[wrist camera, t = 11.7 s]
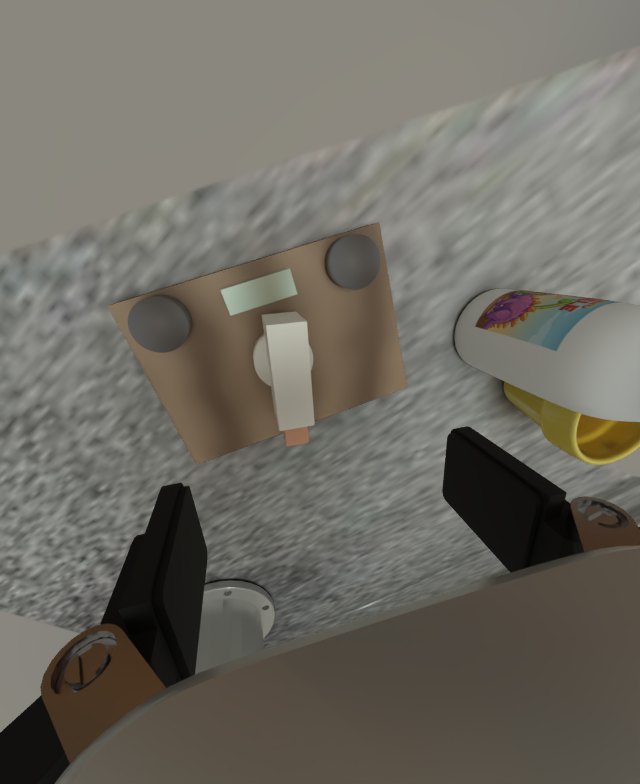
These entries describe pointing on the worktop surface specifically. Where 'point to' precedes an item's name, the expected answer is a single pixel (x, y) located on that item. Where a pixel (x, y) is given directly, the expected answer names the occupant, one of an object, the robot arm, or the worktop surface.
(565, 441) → the plant pot
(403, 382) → the brown lever switch panel
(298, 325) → the wing knob
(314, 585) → the worktop surface
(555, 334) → the milk bottle
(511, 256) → the worktop surface
